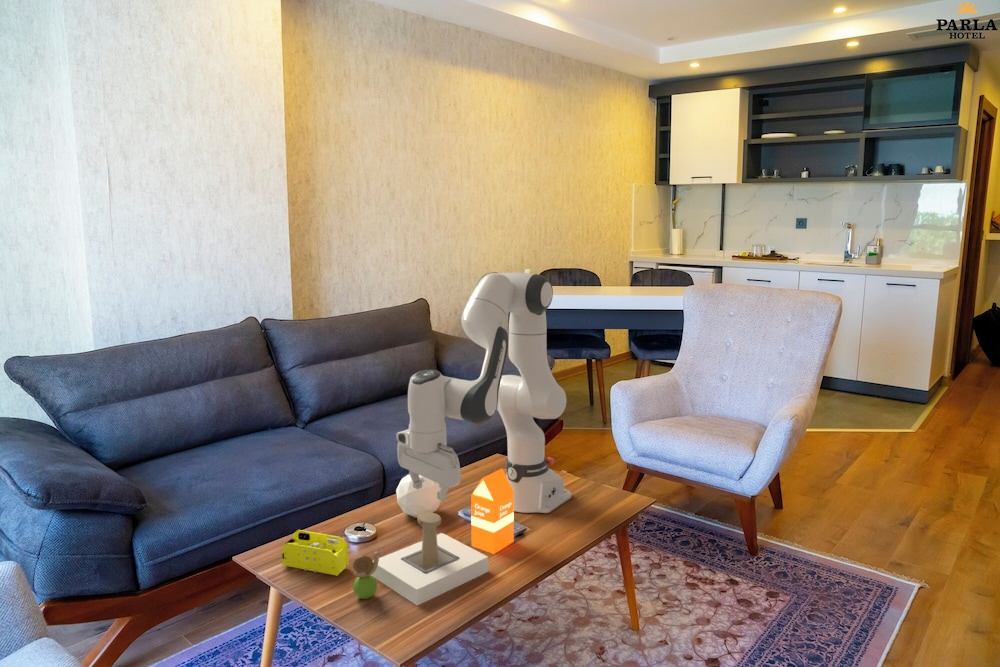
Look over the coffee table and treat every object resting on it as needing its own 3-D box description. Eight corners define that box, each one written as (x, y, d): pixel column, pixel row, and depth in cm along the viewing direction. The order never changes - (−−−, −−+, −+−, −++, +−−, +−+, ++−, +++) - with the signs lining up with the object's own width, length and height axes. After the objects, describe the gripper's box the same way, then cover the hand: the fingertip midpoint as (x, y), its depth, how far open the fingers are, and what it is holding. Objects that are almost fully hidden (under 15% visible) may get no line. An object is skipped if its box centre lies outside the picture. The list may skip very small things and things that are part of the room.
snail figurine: (383, 600, 167) (381, 552, 164) (354, 605, 165) (352, 556, 163) (380, 588, 172) (378, 541, 170) (352, 592, 170) (350, 545, 168)
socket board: (442, 546, 192) (441, 531, 192) (488, 571, 180) (488, 555, 179) (372, 576, 177) (371, 560, 177) (417, 605, 165) (416, 588, 164)
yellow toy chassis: (349, 568, 182) (348, 537, 180) (337, 579, 176) (335, 547, 175) (295, 558, 187) (293, 527, 185) (281, 568, 182) (279, 537, 180)
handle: (430, 582, 174) (428, 524, 172) (414, 572, 179) (413, 515, 176) (446, 575, 178) (445, 518, 175) (430, 566, 182) (429, 510, 180)
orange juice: (471, 545, 193) (470, 474, 189) (491, 533, 200) (491, 464, 196) (494, 554, 188) (494, 481, 185) (514, 541, 195) (514, 471, 192)
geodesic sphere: (457, 503, 206) (443, 458, 211) (413, 514, 199) (399, 467, 204) (439, 517, 217) (426, 474, 222) (397, 528, 210) (384, 483, 215)
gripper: (466, 446, 167) (467, 502, 170) (412, 426, 181) (414, 478, 184) (445, 453, 163) (447, 510, 165) (392, 432, 177) (394, 485, 180)
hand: (429, 493), depth 175 cm, fingers open, 8 cm apart
